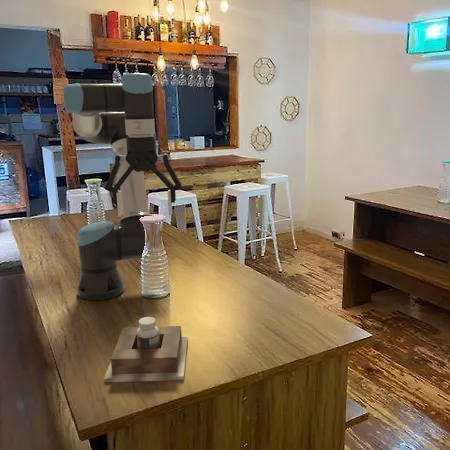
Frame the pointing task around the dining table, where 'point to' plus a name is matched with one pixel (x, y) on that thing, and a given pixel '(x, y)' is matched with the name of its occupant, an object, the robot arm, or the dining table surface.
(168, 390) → the dining table surface
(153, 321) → the pill bottle
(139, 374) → the socket block
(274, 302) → the dining table surface
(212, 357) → the dining table surface
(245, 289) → the dining table surface
